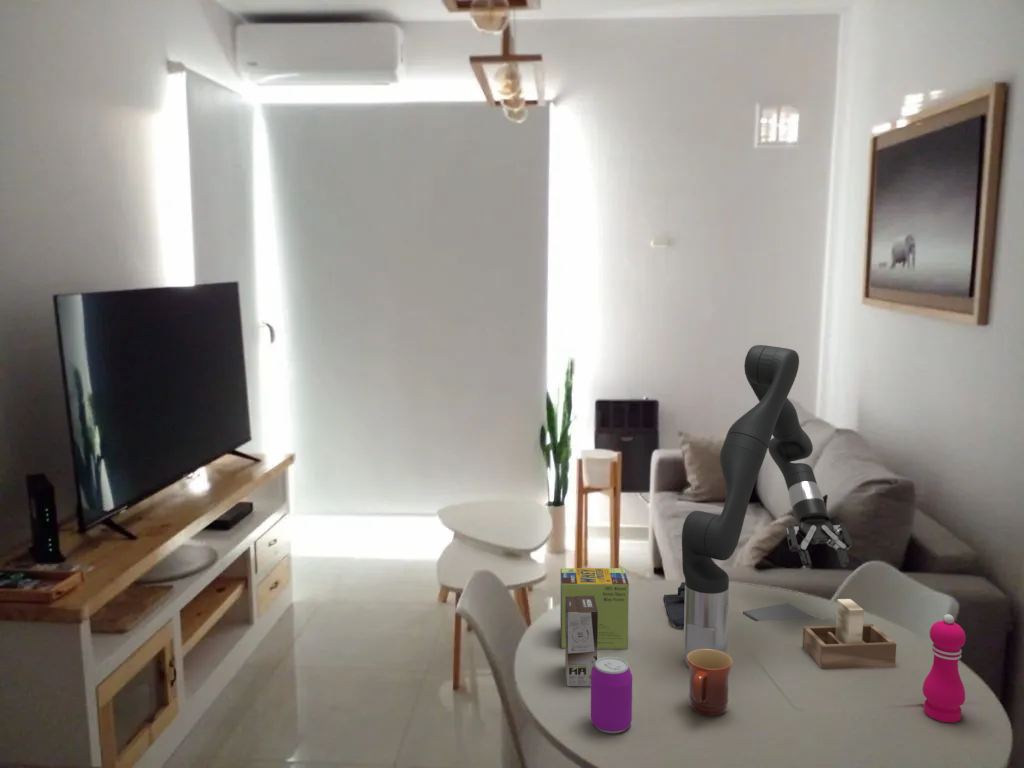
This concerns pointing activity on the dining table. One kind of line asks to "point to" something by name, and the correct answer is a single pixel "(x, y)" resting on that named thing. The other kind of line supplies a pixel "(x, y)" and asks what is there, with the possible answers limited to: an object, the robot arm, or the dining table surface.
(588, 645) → the coffee box
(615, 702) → the beverage can
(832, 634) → the walnut box
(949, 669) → the pepper mill
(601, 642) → the protein box
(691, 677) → the mug
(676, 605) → the dark slate chunk
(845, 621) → the ash block
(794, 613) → the rubber mat
